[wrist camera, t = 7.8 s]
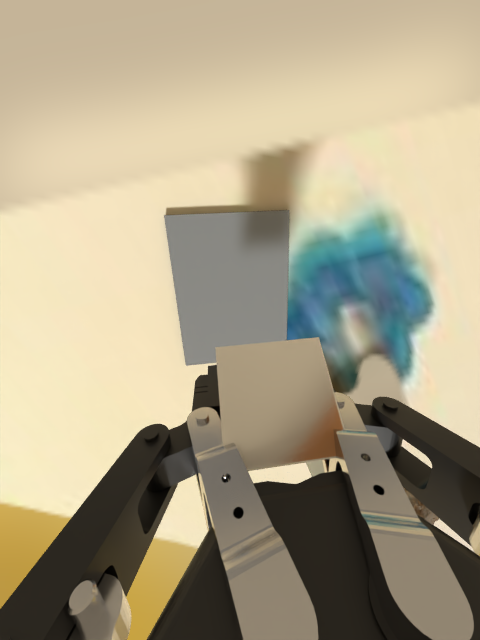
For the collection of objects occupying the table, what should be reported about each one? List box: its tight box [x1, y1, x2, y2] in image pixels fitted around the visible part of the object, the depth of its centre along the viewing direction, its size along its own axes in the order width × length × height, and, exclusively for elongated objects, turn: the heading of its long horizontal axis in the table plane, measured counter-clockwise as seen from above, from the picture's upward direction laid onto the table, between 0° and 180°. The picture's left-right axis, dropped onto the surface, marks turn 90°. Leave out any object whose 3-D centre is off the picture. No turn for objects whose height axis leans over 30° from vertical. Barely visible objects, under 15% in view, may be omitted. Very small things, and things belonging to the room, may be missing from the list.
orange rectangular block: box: [215, 337, 345, 471], centre depth 13 cm, size 4×4×10 cm
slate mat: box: [164, 210, 289, 366], centre depth 25 cm, size 12×16×1 cm
